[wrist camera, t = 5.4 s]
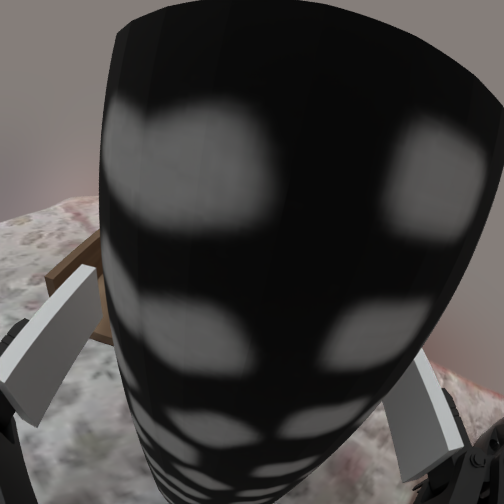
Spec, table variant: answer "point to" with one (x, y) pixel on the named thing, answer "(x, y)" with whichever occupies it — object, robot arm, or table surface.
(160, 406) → the white-spotted black cylinder
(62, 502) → the table surface
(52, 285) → the tray
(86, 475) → the table surface
